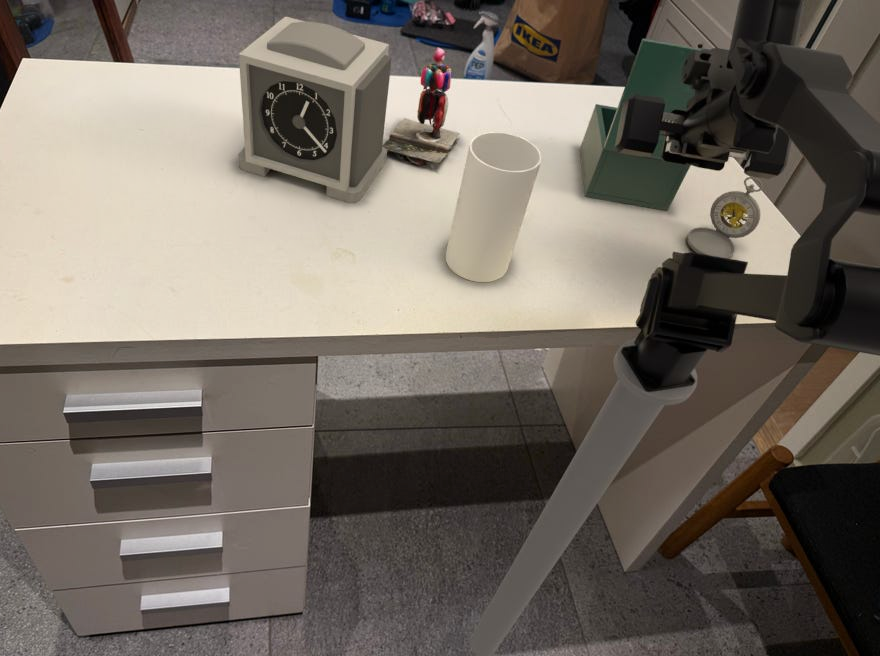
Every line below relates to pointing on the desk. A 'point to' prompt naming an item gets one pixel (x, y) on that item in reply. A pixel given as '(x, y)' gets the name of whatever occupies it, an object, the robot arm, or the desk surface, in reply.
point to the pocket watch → (719, 239)
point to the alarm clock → (315, 106)
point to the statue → (433, 105)
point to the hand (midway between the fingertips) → (673, 154)
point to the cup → (491, 205)
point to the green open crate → (625, 169)
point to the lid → (656, 82)
